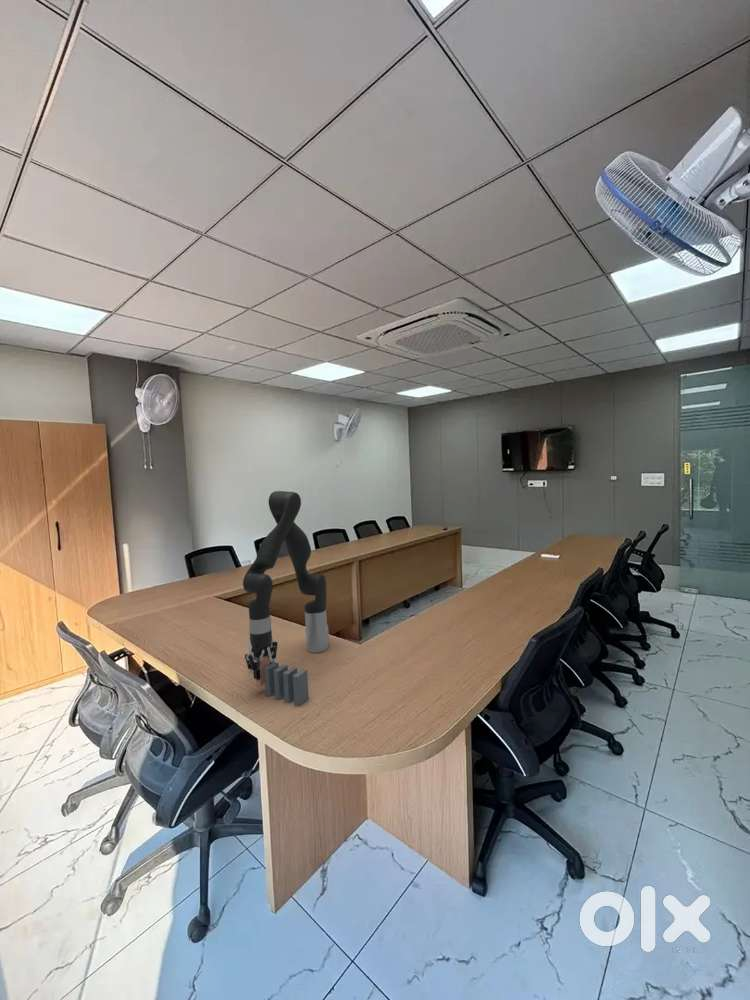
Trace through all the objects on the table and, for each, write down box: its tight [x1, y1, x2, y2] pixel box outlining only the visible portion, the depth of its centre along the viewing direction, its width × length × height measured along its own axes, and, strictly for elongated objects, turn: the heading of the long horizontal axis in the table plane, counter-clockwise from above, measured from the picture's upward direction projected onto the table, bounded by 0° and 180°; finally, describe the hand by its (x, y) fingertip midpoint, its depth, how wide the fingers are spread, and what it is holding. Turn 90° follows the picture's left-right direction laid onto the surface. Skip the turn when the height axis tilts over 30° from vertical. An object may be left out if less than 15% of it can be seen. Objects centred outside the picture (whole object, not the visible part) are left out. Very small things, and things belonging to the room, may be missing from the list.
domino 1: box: [255, 655, 270, 687], centre depth 145 cm, size 2×5×10 cm, turn 150°
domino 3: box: [273, 664, 289, 701], centre depth 142 cm, size 2×5×10 cm, turn 150°
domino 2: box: [264, 661, 280, 698], centre depth 144 cm, size 2×5×10 cm, turn 150°
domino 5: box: [293, 668, 310, 707], centre depth 137 cm, size 2×5×10 cm, turn 150°
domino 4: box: [283, 666, 299, 704], centre depth 139 cm, size 2×5×10 cm, turn 150°
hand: (263, 675), depth 146 cm, fingers closed on domino 1, 5 cm apart
